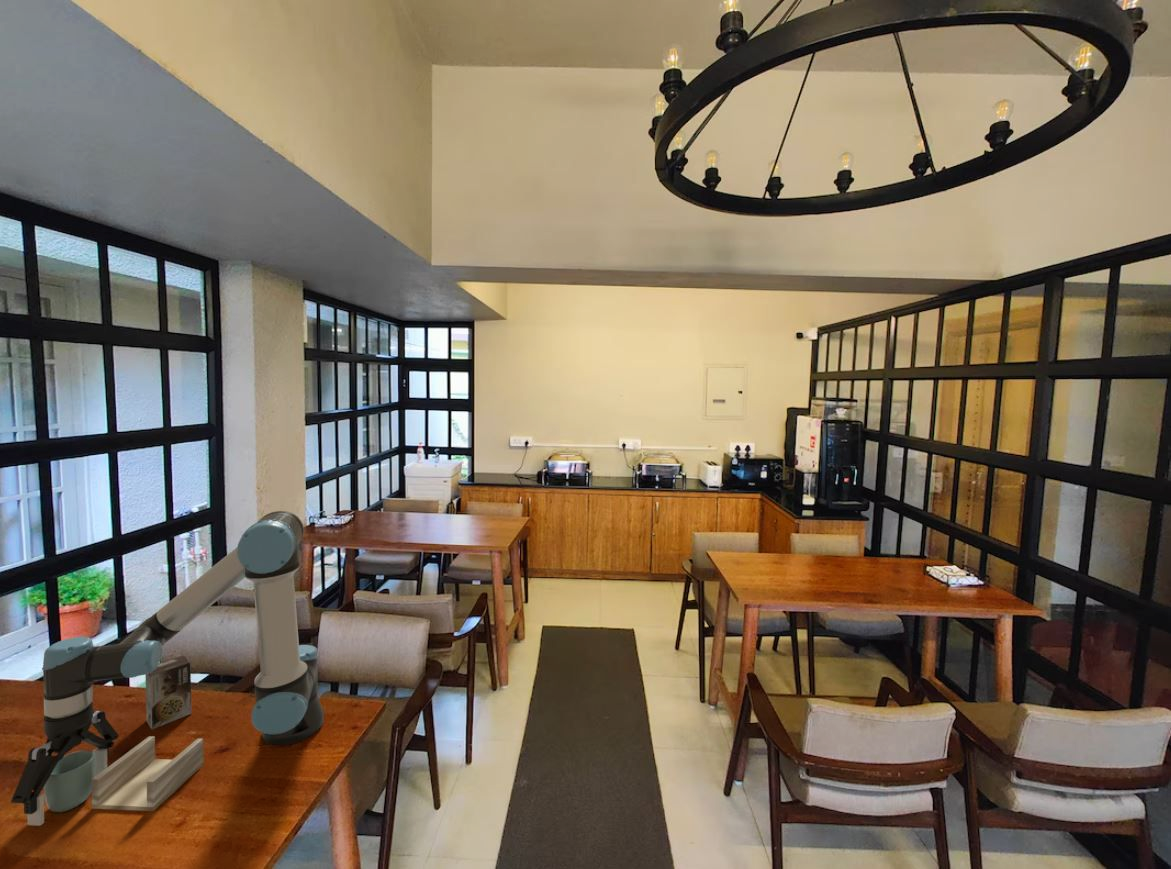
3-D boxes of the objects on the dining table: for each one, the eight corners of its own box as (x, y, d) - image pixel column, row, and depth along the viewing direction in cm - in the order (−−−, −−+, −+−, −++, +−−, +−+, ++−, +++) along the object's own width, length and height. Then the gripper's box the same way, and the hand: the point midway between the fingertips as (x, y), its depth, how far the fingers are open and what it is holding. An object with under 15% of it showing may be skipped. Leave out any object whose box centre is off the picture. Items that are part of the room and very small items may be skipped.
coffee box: (185, 705, 144) (185, 654, 143) (192, 714, 140) (191, 661, 139) (145, 720, 136) (144, 666, 135) (151, 730, 133) (150, 675, 132)
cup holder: (203, 764, 121) (203, 738, 121) (153, 811, 107) (153, 781, 107) (149, 762, 121) (148, 736, 121) (92, 808, 107) (91, 779, 107)
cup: (61, 822, 104) (60, 778, 103) (35, 814, 105) (34, 771, 105) (104, 793, 111) (103, 753, 111) (78, 787, 113) (78, 747, 112)
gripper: (107, 676, 119) (108, 757, 120) (-18, 746, 94) (-16, 847, 96) (137, 678, 119) (137, 758, 120) (19, 748, 95) (21, 849, 96)
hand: (70, 798), depth 108 cm, fingers open, 13 cm apart
